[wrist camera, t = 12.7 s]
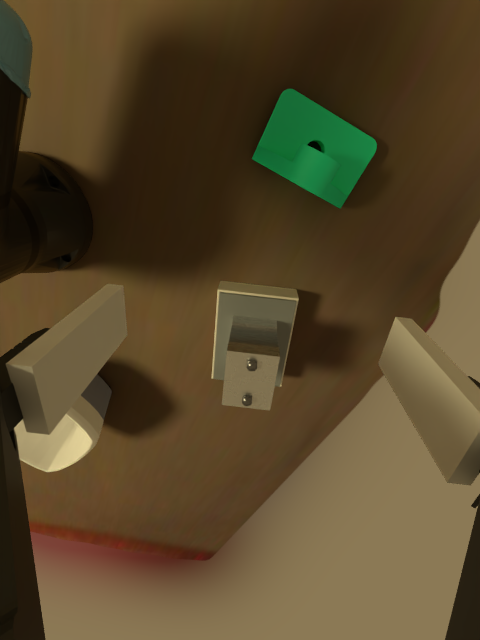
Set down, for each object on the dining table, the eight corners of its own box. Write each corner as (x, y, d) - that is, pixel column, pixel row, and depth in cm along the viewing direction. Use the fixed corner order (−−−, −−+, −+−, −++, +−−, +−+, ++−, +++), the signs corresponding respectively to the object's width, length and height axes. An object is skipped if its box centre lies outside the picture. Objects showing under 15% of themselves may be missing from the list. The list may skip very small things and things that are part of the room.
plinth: (214, 365, 51) (211, 380, 48) (220, 280, 45) (217, 290, 41) (280, 372, 51) (281, 388, 48) (296, 289, 44) (299, 300, 41)
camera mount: (373, 144, 36) (411, 137, 27) (335, 206, 39) (358, 219, 30) (283, 89, 34) (292, 62, 25) (252, 159, 37) (249, 157, 28)
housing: (228, 362, 46) (221, 408, 38) (233, 315, 42) (226, 353, 34) (268, 367, 46) (270, 413, 38) (276, 320, 42) (280, 359, 34)
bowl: (17, 379, 56) (-36, 426, 46) (66, 334, 50) (19, 376, 41) (85, 430, 60) (50, 482, 51) (136, 393, 55) (109, 443, 45)
